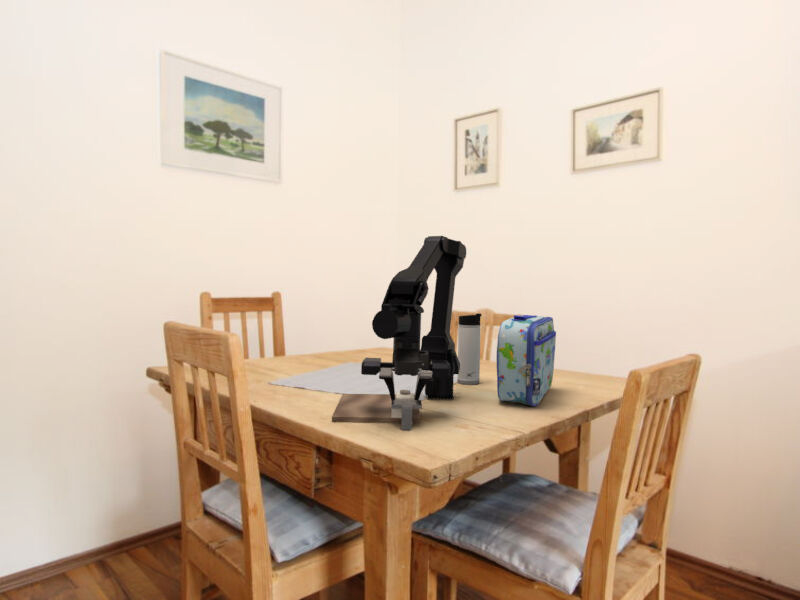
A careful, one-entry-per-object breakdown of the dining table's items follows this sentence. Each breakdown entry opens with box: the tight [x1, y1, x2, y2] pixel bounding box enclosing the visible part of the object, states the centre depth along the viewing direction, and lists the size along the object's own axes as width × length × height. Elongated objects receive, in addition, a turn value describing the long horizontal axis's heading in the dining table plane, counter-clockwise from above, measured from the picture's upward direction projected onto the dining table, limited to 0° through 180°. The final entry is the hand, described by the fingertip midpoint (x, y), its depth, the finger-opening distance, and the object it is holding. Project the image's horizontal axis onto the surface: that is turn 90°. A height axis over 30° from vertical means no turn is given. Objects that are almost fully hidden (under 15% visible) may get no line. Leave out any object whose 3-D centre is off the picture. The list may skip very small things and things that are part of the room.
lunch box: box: [496, 314, 557, 407], centre depth 123 cm, size 26×11×21 cm, turn 153°
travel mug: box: [456, 312, 482, 386], centre depth 140 cm, size 6×7×20 cm
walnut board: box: [331, 389, 422, 424], centre depth 110 cm, size 18×21×4 cm
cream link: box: [391, 391, 415, 418], centre depth 106 cm, size 15×4×2 cm, turn 174°
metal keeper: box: [391, 399, 423, 431], centre depth 97 cm, size 6×6×4 cm
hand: (404, 407), depth 105 cm, fingers open, 4 cm apart
